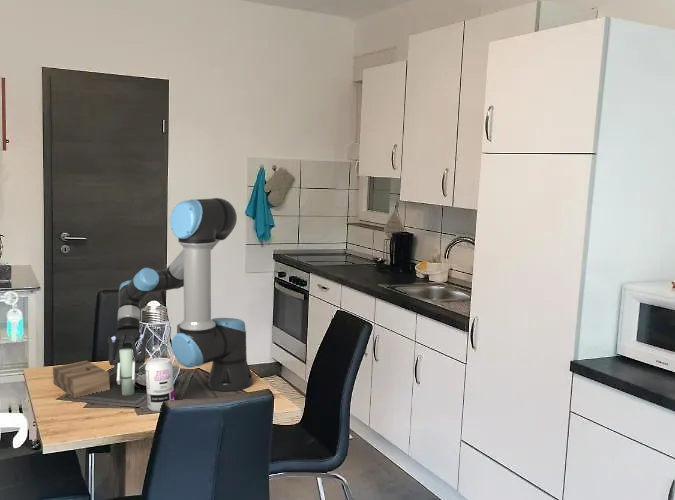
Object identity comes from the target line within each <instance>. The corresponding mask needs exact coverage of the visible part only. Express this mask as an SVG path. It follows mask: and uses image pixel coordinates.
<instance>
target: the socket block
mask: <svg viewBox="0 0 675 500" xmlns="http://www.w3.org/2000/svg"><path fill="white" fill-rule="evenodd" d="M52 375H53V384H54V385H55V386H56V387H58V388H59V389H61V390H62V391H64V393H66V394H67V395H69V394H70V395H69V396H71V397H72V396H73V398H74V399H76V397H77V398H80V396H81V397H85V395H86V396H89V395H88V394H90V395H93V394H92V393H94V394H97V393H96V392H98V393H102V392H106V390H107V391H110V390H111V386H110V372H108V371H107V370H105V369H103V368H101V367H99V366H98V365H96V364H93V363H92V362H90V361H89V360H82V361H78V362H73V363H72V362H71V363H68V364H64V365H63V364H61V365H59V366H58V365H57V366H53V367H52ZM101 391H102V392H101Z"/></svg>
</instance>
